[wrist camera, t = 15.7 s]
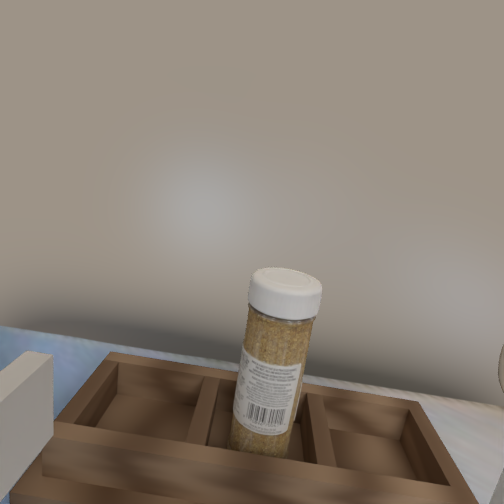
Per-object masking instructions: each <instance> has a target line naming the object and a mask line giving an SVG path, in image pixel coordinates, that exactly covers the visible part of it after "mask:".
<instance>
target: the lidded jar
mask: <svg viewBox="0 0 504 504" xmlns="http://www.w3.org/2000/svg"><path fill="white" fill-rule="evenodd" d="M498 376H499V382H500V385H501V388H502V390H503V392H504V345H503V347H502V351H501V354H500V359H499V367H498Z"/></svg>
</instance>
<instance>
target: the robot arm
mask: <svg viewBox="0 0 504 504" xmlns="http://www.w3.org/2000/svg"><path fill="white" fill-rule="evenodd" d="M53 435H54V429H53V355H51V354H45V353H39V352H32V351H26V352H24V353H23V354H22V355H21V356H19V357H18V358H17V359H15V360H14V361H13V362H12V363H10V364H9V365H8V366H7V367H5V368H4V369H3V370H2V371H0V502H1V501H2V499H3V498H4V497H5V496H6V494H7V493H8V492H9V491H10V489H11V488H12V487H13V485H14V484H15V483H16V482H17V480H18V479H19V478H20V477H21V475H22V474H23V473H24V472H25V470H26V469H27V468H28V466H29V465H30V464H31V463H32V461H33V460H34V459H35V458H36V456H37V455H38V454H39V453H40V451H41V450H42V449H43V447H44V446H45V445H46V444H47V442H48V441H49V440H50V439H51V437H52V436H53ZM489 504H504V469H503V471H502V474H501V476H500V479H499V481H498V483H497V486H496V488H495V491H494V493H493V496H492V498H491V501H490V503H489Z"/></svg>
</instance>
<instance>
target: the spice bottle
mask: <svg viewBox="0 0 504 504" xmlns="http://www.w3.org/2000/svg"><path fill="white" fill-rule="evenodd" d="M321 296H322V285H321V283H320V282H319V281H318V280H317V279H315V278H314V277H312V276H310V275H308V274H305V273H303V272H299V271H296V270H291V269H286V268H276V267H274V268H273V267H270V268H263V269H259V270H257V271H255V272H254V273H253V274H252V277H251V282H250V287H249V293H248V300H249V304H248V307H249V313H248V320H247V328H246V333H245V339H244V341H243V346H242V352H241V360H240V366H239V372H238V378H237V385H236V391H235V398H234V404H233V417H232V423H231V431H230V434H229V436H228V439H227V450H233V451H240V452H246V453H252V454H258V455H264V456H270V457H276V458H282V459H287V457H288V454H289V452H288V444H289V440H290V434H291V430H292V425H293V422H294V420H295V416H296V411H297V407H298V402H299V397H300V392H301V387H302V377H303V373H304V367H305V362H306V357H307V352H308V347H309V341H310V336H311V330H312V324H313V321H314V320H315V318H316V314H317V313H318V311H319V307H320V301H321Z"/></svg>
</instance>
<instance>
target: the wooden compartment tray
mask: <svg viewBox="0 0 504 504" xmlns="http://www.w3.org/2000/svg"><path fill="white" fill-rule="evenodd" d="M237 378H238V372H233V371H227V370H221V369H214V368H208V367H202V366H196V365H190V364H184V363H178V362H172V361H165V360H159V359H153V358H147V357H141V356H135V355H129V354H122V353H116V352H110V353H109V354H108V355H107V356H106V358H105V359H104V360H103V361H102V362H101V364H100V365H99V366H98V367H97V369H96V370H95V371H94V372H93V374H92V375H91V376H90V377H89V378H88V380H87V381H86V382H85V383H84V385H83V386H82V387H81V388H80V389H79V391H78V392H77V393H76V394H75V396H74V397H73V398H72V399H71V400H70V402H69V403H68V404H67V405H66V407H65V408H64V409H63V410H62V412H61V413H60V414H59V415H58V416H57V418H56V419H55V420H54V421H53V429H54V435H53V436H52V437H51V439H50V440H49V441H48V442H47V444H46V445H45V446H44V447H43V449H42V451H41V452H40V454H39V455H38V456H37V457H36V459H35V460H34V461H33V463H32V464H31V465H30V466H29V468H28V469H27V470H26V472H25V473H24V474H23V475H22V477H21V478H20V479H19V481H18V482H17V483H16V484H15V486H14V487H13V488H12V490H11V491H10V504H479V503H478V501H477V500H476V498H475V496H474V495H473V493H472V491H471V490H470V488H469V486H468V485H467V483H466V481H465V479H464V478H463V476H462V474H461V473H460V471H459V469H458V468H457V466H456V464H455V463H454V461H453V459H452V458H451V456H450V454H449V453H448V451H447V449H446V447H445V446H444V444H443V442H442V441H441V439H440V437H439V436H438V434H437V432H436V431H435V429H434V427H433V426H432V424H431V422H430V421H429V419H428V417H427V415H426V414H425V412H424V410H423V409H422V407H421V405H420V404H419V402H417V401H411V400H405V399H399V398H392V397H386V396H380V395H374V394H368V393H362V392H356V391H350V390H343V389H337V388H331V387H325V386H319V385H313V384H307V383H302V387H301V392H300V397H299V402H298V407H297V411H296V416H295V420H294V422H293V425H292V430H291V434H290V440H289V444H288V452H289V454H288V457H287V459H282V458H276V457H270V456H264V455H258V454H252V453H246V452H240V451H233V450H227V439H228V436H229V434H230V431H231V423H232V417H233V404H234V398H235V391H236V385H237Z"/></svg>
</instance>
